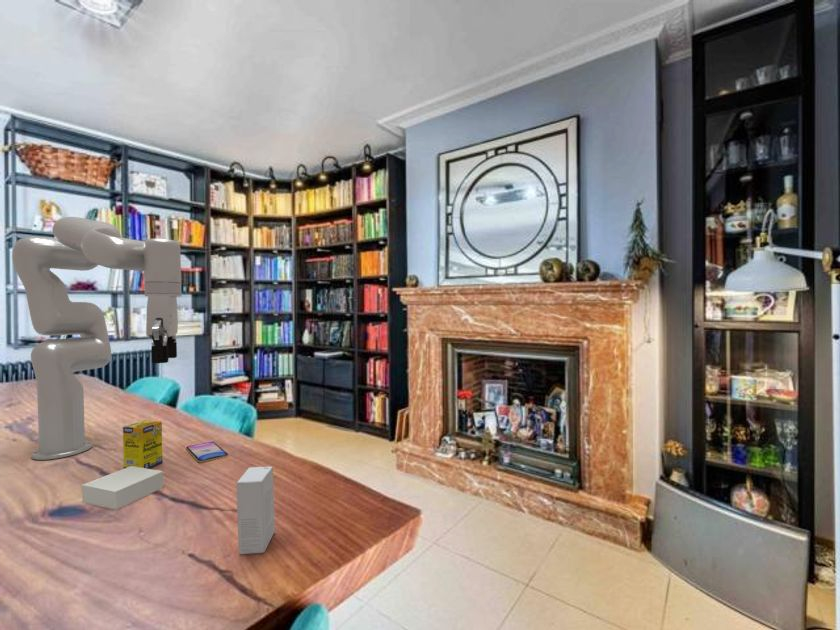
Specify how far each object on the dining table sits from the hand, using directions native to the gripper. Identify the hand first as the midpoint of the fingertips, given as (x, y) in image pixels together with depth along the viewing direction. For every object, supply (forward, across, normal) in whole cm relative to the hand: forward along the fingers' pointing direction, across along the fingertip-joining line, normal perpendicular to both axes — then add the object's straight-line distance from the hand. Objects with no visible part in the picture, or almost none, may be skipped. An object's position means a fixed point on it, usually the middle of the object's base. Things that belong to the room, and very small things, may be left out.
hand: (165, 360), depth 96 cm
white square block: (+28, +11, -6) cm, 30 cm away
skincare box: (+28, +41, +21) cm, 54 cm away
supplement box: (+28, -6, -6) cm, 29 cm away
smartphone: (+28, -10, +7) cm, 31 cm away
